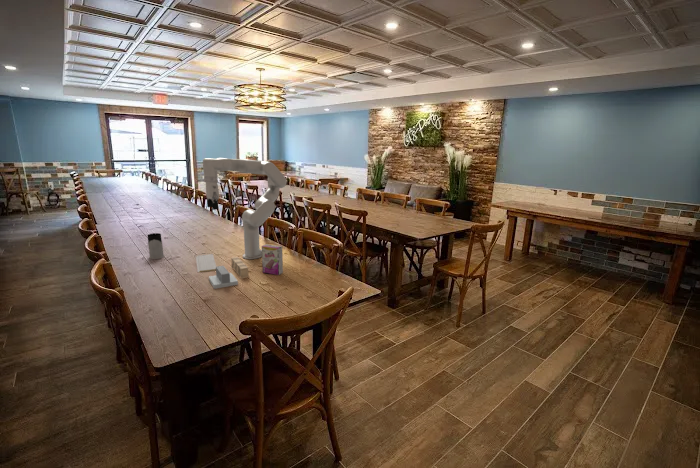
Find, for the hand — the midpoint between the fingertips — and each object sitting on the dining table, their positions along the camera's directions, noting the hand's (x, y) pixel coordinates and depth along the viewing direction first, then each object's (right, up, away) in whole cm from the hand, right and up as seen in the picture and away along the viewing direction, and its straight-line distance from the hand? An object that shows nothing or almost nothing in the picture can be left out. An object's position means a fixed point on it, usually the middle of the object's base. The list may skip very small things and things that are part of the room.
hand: (212, 208), depth 207 cm
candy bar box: (+37, -39, -6) cm, 54 cm away
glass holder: (-44, -30, +19) cm, 57 cm away
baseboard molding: (-8, -35, +7) cm, 36 cm away
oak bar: (+18, -38, -6) cm, 42 cm away
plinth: (+14, -41, -22) cm, 49 cm away
